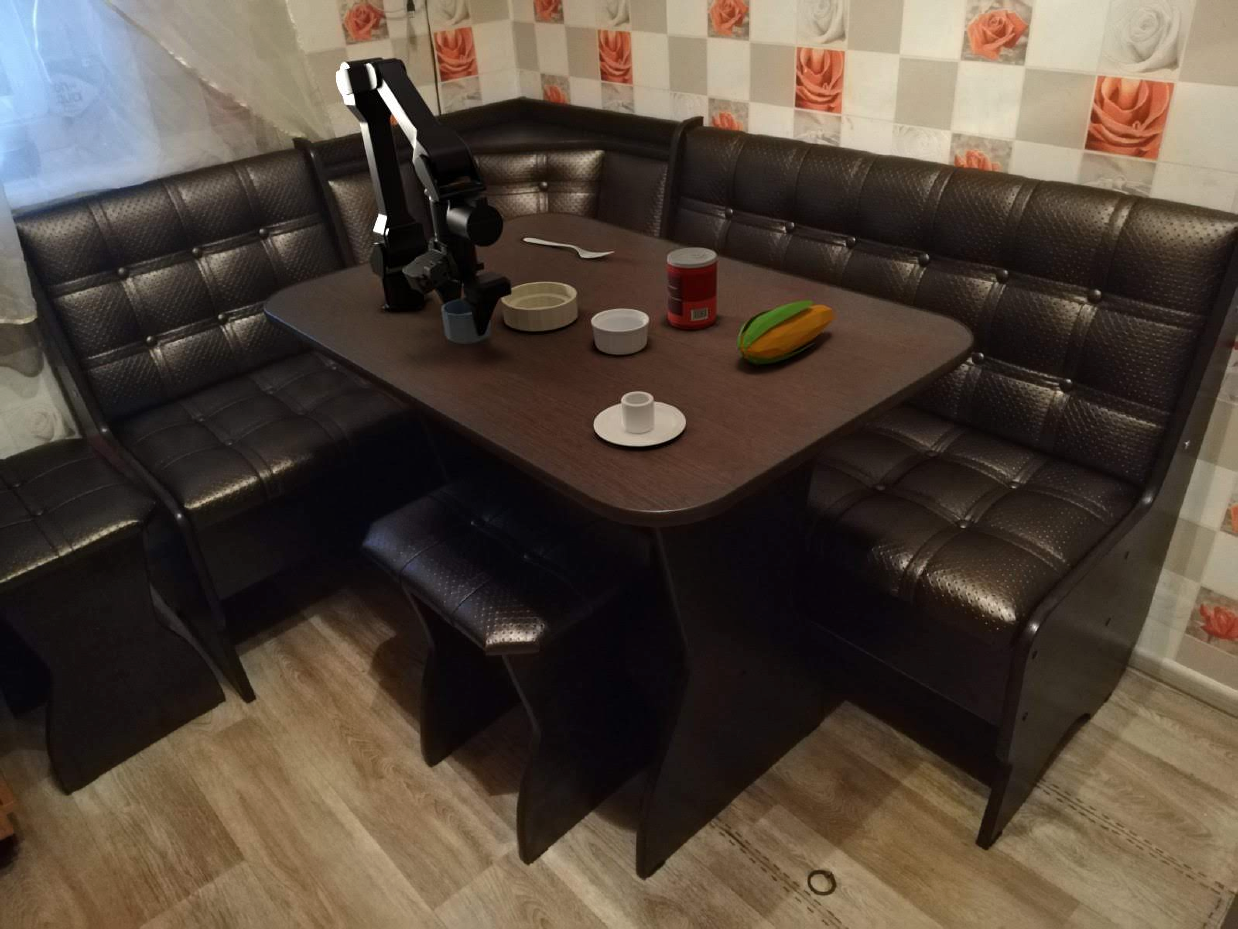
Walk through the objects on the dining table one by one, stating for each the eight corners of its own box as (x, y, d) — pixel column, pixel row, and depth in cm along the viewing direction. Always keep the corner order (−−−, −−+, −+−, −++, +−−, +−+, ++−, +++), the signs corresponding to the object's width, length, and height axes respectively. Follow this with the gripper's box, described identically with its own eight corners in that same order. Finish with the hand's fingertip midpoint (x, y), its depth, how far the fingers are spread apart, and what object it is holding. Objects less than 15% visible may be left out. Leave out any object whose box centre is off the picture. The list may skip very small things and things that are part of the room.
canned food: (724, 316, 151) (725, 250, 145) (701, 334, 145) (701, 266, 139) (683, 308, 154) (682, 244, 149) (659, 325, 149) (657, 259, 143)
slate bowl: (441, 345, 142) (436, 315, 139) (451, 327, 148) (447, 297, 145) (487, 345, 141) (483, 314, 139) (495, 326, 147) (491, 297, 145)
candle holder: (675, 401, 126) (674, 372, 124) (695, 444, 116) (695, 414, 114) (588, 411, 125) (586, 382, 123) (601, 456, 115) (599, 425, 112)
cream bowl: (498, 334, 149) (495, 310, 146) (510, 305, 159) (508, 282, 157) (574, 333, 148) (572, 308, 145) (581, 304, 158) (580, 280, 156)
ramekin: (621, 328, 148) (620, 303, 146) (661, 343, 143) (661, 317, 140) (580, 346, 143) (579, 320, 141) (621, 362, 138) (619, 335, 135)
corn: (724, 315, 131) (814, 278, 142) (721, 362, 135) (808, 323, 146) (763, 333, 127) (853, 293, 137) (758, 381, 131) (846, 339, 142)
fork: (530, 237, 191) (529, 228, 190) (616, 259, 177) (616, 250, 176) (518, 241, 189) (517, 232, 188) (605, 264, 175) (604, 255, 174)
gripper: (374, 230, 138) (392, 327, 146) (441, 258, 125) (457, 362, 134) (438, 213, 144) (452, 307, 152) (508, 238, 131) (519, 339, 140)
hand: (467, 328), depth 144 cm, fingers closed on slate bowl, 7 cm apart
